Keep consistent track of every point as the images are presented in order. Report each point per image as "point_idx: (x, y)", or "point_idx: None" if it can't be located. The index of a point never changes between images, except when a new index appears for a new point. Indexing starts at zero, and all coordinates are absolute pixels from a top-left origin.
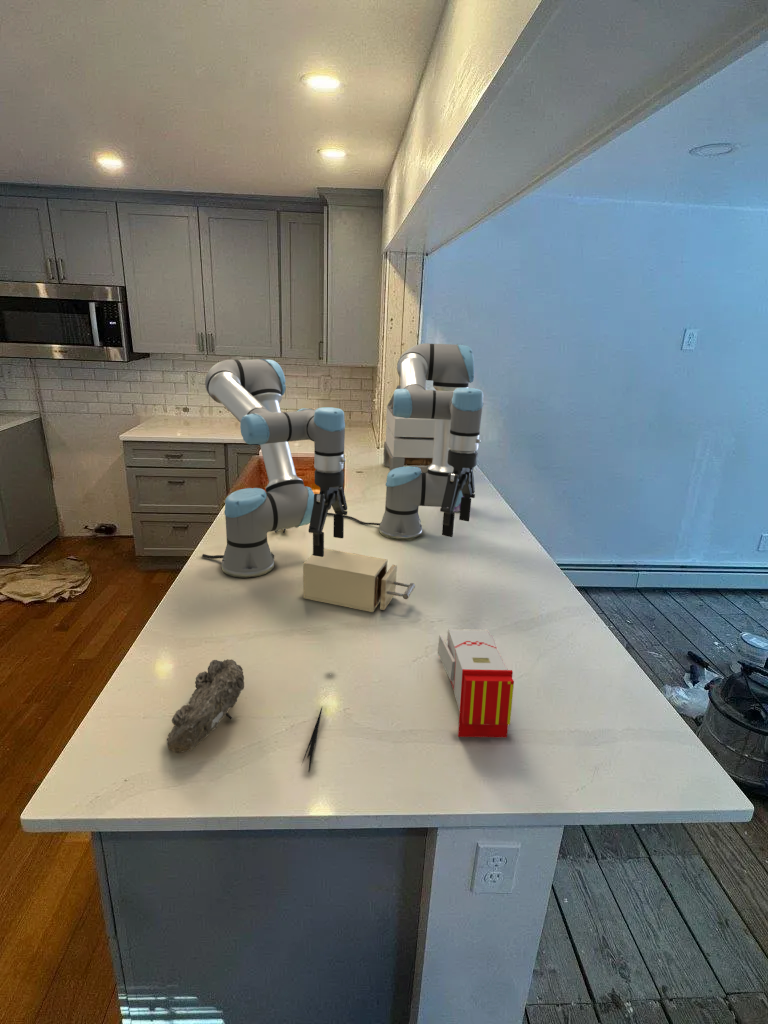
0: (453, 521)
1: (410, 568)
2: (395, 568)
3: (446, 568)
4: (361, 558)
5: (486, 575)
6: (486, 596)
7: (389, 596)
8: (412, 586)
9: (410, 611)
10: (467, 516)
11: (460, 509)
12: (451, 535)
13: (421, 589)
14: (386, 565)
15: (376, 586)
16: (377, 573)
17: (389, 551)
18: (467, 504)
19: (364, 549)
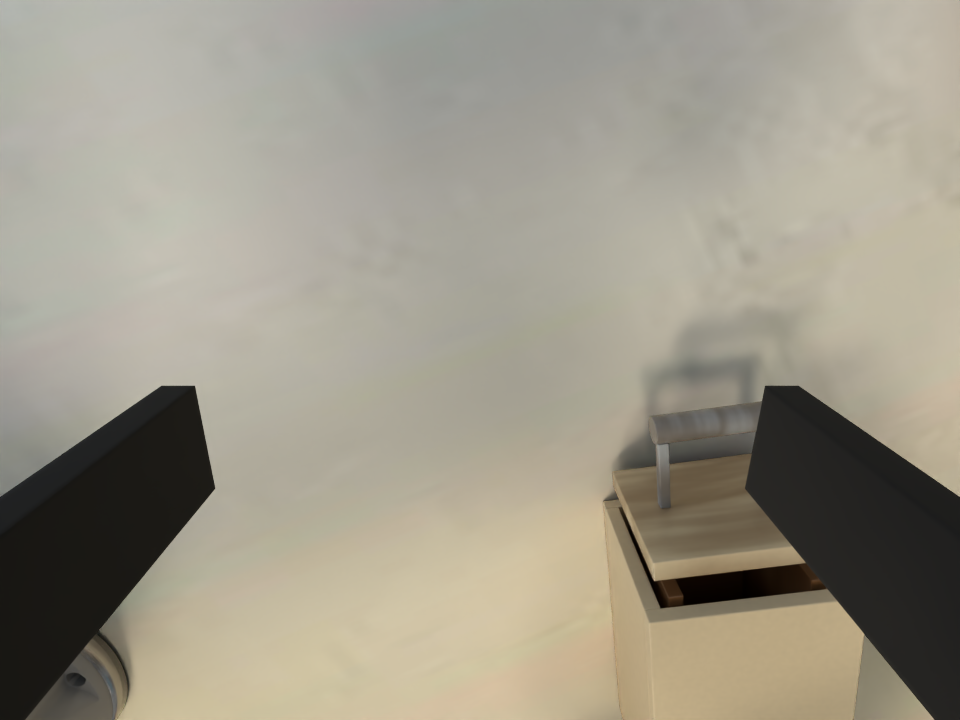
0: (937, 494)
1: (333, 509)
2: (675, 554)
3: (227, 382)
4: (695, 711)
5: (160, 179)
6: (391, 102)
7: (711, 476)
8: (685, 424)
9: (698, 367)
10: (164, 430)
11: (137, 575)
12: (812, 398)
13: (492, 401)
14: (653, 598)
15: None
16: (815, 597)
17: (240, 632)
18: (35, 563)
19: (289, 704)
